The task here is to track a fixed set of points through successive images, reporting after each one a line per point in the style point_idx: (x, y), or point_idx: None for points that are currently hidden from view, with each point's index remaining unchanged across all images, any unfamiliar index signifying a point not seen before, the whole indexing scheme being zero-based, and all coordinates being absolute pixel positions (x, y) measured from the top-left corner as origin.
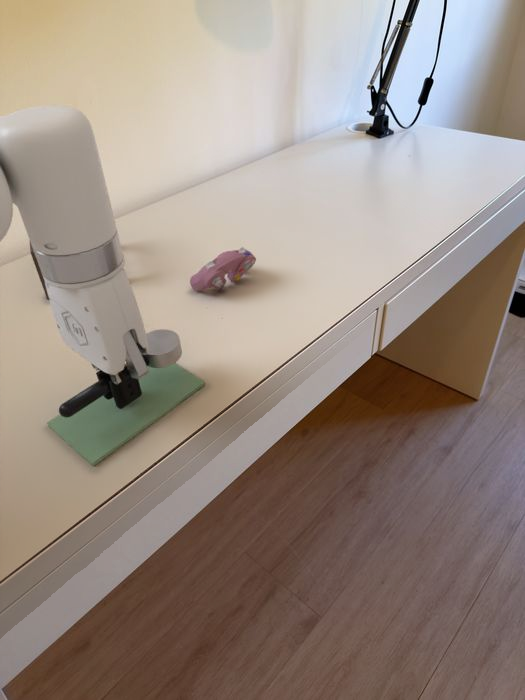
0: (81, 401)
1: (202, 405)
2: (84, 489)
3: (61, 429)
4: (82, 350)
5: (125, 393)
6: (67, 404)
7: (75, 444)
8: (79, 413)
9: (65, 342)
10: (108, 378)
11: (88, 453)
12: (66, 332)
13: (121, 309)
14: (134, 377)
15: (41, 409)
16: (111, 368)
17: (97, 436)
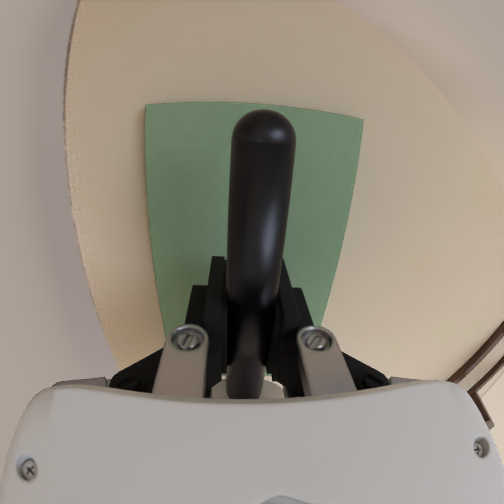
0: (234, 200)
1: (136, 338)
2: (115, 62)
3: (313, 122)
4: (271, 466)
5: (188, 305)
6: (259, 150)
7: (235, 110)
8: (318, 186)
9: (440, 390)
10: (245, 325)
11: (179, 114)
12: (427, 485)
13: None
14: (84, 382)
15: (409, 150)
16: (22, 418)
17: (209, 163)
